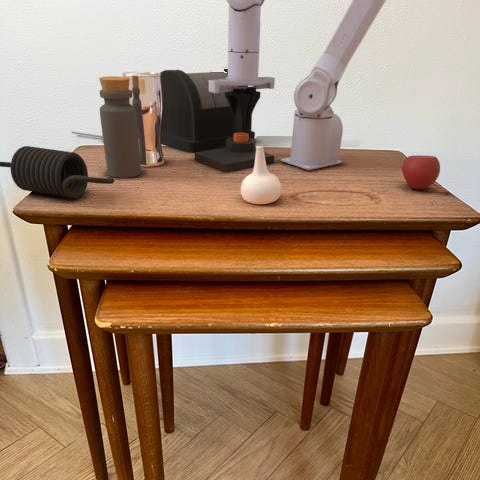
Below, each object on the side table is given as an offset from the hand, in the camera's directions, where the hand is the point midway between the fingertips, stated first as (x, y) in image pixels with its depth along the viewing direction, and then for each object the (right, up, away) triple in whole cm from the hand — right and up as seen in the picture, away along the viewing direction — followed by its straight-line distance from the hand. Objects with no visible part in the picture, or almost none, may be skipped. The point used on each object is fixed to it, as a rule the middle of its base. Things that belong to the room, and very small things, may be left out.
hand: (241, 130), depth 91 cm
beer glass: (-18, -8, -4) cm, 20 cm away
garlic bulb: (+3, -19, -20) cm, 27 cm away
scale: (-1, -6, -1) cm, 7 cm away
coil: (-26, -12, -22) cm, 36 cm away
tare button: (0, -2, +1) cm, 2 cm away
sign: (-39, +5, +14) cm, 41 cm away
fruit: (+27, -12, -12) cm, 32 cm away
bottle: (-21, -12, -10) cm, 26 cm away
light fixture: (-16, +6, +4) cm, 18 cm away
